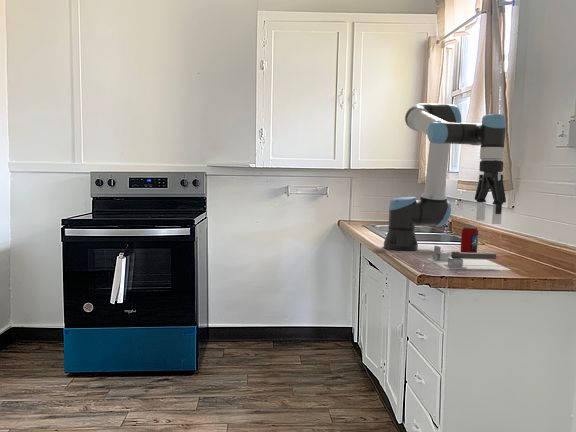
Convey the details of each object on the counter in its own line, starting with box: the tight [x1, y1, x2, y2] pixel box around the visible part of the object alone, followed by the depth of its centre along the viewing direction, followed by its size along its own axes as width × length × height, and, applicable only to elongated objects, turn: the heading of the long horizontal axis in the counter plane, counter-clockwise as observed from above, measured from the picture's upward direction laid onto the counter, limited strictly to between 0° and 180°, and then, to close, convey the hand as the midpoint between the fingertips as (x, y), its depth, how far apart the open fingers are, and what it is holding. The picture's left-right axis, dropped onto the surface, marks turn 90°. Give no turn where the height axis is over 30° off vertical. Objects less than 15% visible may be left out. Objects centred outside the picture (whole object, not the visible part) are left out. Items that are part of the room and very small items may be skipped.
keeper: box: [432, 245, 450, 261], centre depth 195 cm, size 4×5×5 cm
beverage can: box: [459, 225, 479, 253], centre depth 216 cm, size 7×7×12 cm
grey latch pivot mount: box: [444, 256, 467, 270], centre depth 182 cm, size 6×6×3 cm
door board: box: [428, 258, 511, 271], centre depth 188 cm, size 20×24×1 cm
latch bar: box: [450, 250, 497, 260], centre depth 182 cm, size 16×3×2 cm, turn 93°
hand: (488, 222), depth 174 cm, fingers open, 13 cm apart
